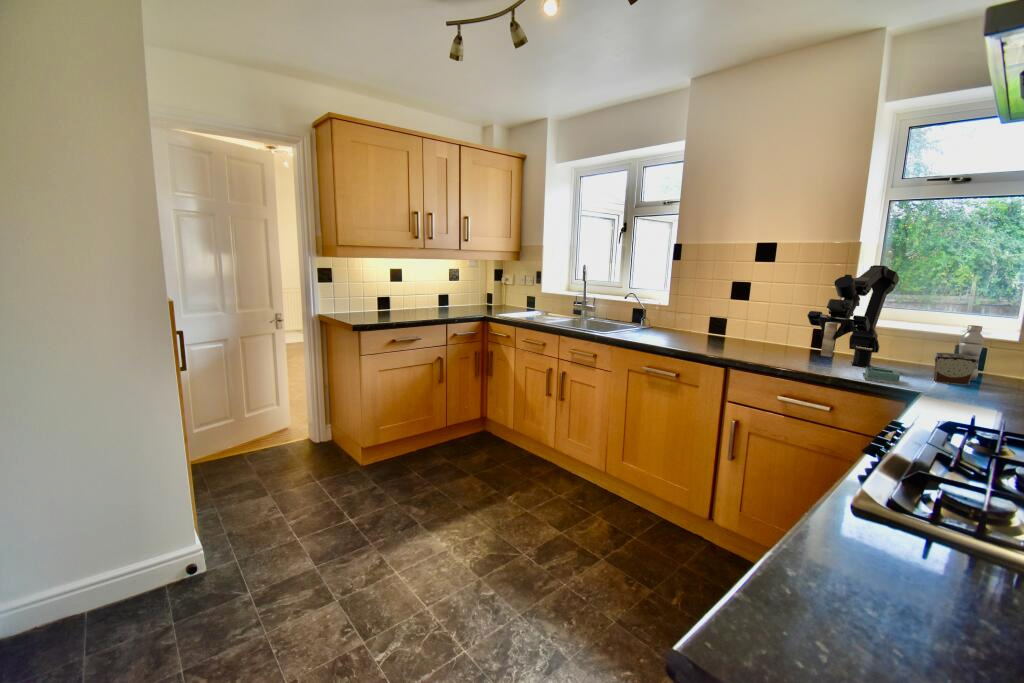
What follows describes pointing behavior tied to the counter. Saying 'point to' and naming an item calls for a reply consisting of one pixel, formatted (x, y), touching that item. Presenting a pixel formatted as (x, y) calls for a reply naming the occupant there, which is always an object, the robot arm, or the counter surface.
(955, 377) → the food container
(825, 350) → the dowel
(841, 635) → the counter surface
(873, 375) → the collar plate
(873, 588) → the counter surface
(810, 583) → the counter surface
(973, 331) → the plastic bottle
